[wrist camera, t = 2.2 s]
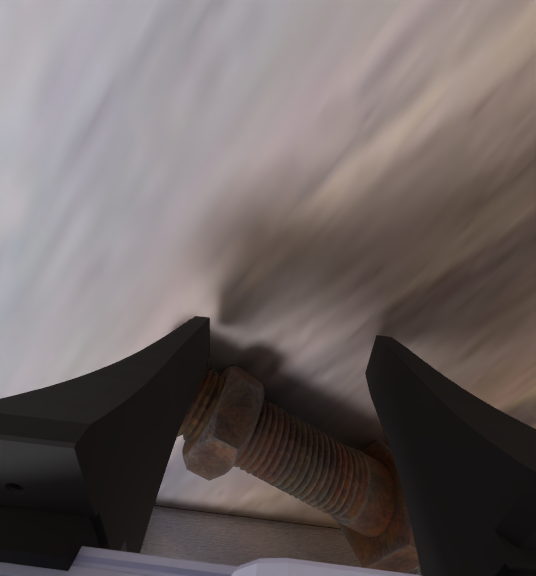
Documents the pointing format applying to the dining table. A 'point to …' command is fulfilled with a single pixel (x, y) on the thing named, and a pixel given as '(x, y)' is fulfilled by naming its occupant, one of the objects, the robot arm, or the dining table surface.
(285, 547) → the keeper
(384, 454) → the bolt
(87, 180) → the dining table surface
